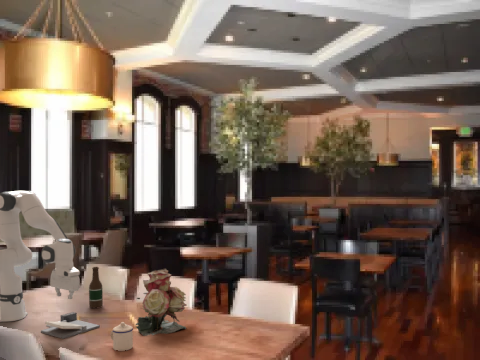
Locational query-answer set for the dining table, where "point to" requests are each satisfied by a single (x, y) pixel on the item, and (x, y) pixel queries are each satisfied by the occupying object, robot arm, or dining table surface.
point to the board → (70, 332)
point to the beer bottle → (95, 290)
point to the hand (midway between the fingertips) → (64, 297)
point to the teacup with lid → (122, 337)
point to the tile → (64, 325)
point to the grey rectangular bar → (67, 317)
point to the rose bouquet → (160, 304)
